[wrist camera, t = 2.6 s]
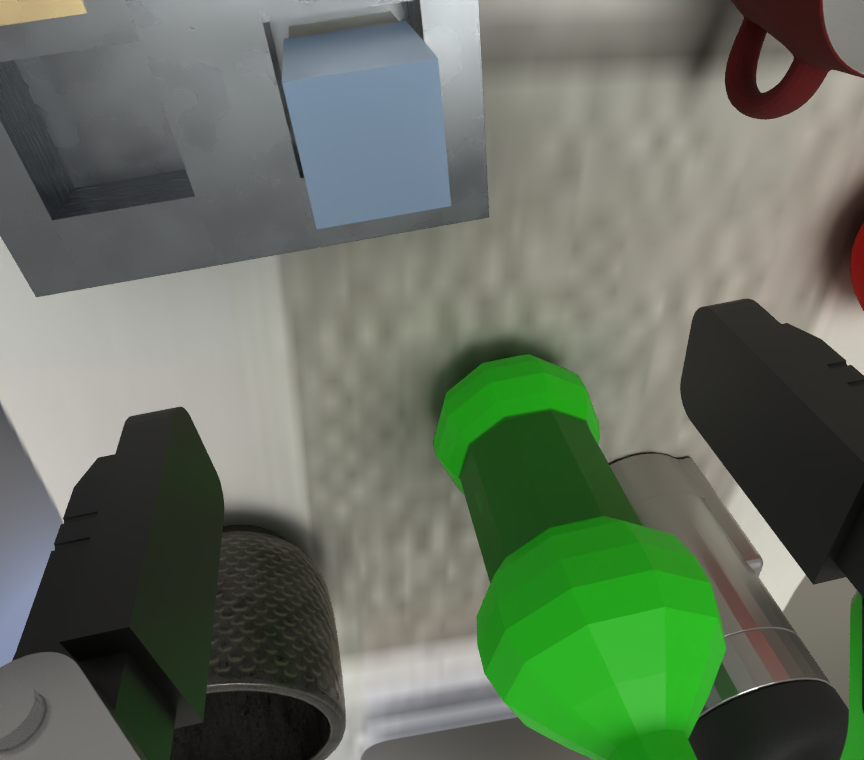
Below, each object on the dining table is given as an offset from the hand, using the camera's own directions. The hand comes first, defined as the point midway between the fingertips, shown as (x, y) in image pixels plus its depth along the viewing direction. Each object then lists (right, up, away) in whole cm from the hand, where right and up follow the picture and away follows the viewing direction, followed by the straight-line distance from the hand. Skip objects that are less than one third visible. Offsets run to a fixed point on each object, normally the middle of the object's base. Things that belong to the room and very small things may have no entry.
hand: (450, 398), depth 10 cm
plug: (-4, +13, +17) cm, 22 cm away
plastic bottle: (+4, 0, +31) cm, 31 cm away
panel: (-9, +13, +17) cm, 23 cm away
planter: (-14, -13, +36) cm, 41 cm away
